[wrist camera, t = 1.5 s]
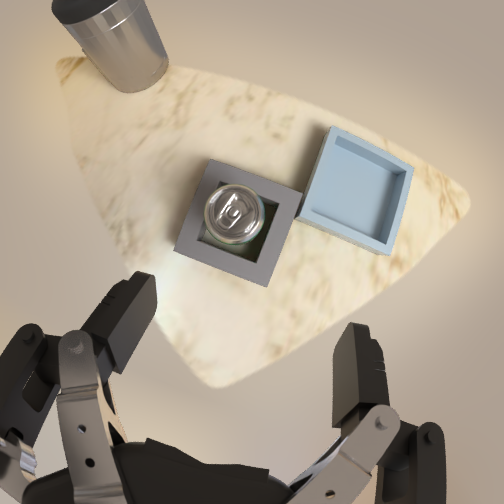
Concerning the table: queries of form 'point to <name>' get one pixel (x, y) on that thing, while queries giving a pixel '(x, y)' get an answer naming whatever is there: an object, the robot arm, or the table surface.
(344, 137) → the parts tray
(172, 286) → the table surface
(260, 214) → the soda can
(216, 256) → the socket block
